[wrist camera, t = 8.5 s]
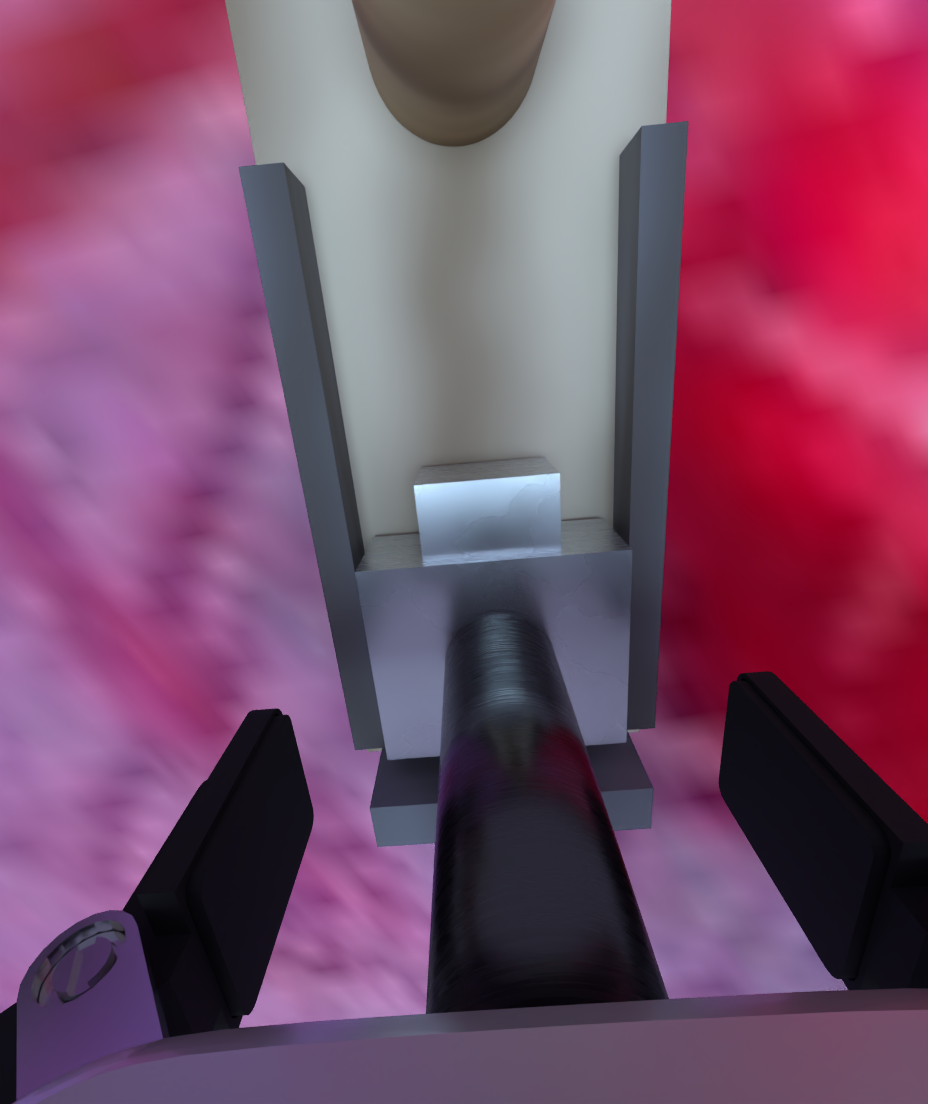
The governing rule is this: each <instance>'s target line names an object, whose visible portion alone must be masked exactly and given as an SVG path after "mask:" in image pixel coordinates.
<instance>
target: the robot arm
mask: <svg viewBox="0 0 928 1104" xmlns="http://www.w3.org/2000/svg"><path fill="white" fill-rule="evenodd" d="M719 788H720V792H721V795H722V797H723V799H724V801H725V803H726V804H727V806H728V808H729V809H730V811H731V813H732V814H733V816H734V818H735V819H736V821H737V823H738V824H739V826H740V827H741V829H742V831H743V832H744V834H745V836H746V837H747V839H748V841H749V842H750V844H751V846H752V847H753V849H754V851H755V852H756V854H757V855H758V857H759V859H760V860H761V862H762V864H763V865H764V867H765V869H766V870H767V872H768V874H769V875H770V877H771V879H772V880H773V882H774V883H775V885H776V887H777V888H778V890H779V892H780V893H781V895H782V897H783V898H784V900H785V902H786V903H787V905H788V907H789V908H790V910H791V912H792V913H793V915H794V916H795V918H796V920H797V921H798V923H799V925H800V926H801V928H802V930H803V931H804V933H805V935H806V936H807V938H808V940H809V941H810V943H811V944H812V946H813V948H814V949H815V951H816V953H817V954H818V956H819V958H820V959H821V961H822V963H823V964H824V966H825V967H826V969H827V970H828V972H829V973H830V974H831V975H832V976H833V977H834V978H836V979H842V980H843V982H844V984H845V985H846V987H847V988H848V990H843V991H814V992H792V993H774V994H755V995H737V996H718V997H700V998H682V999H663V1000H645V1001H629V1002H612V1003H595V1004H578V1005H561V1006H545V1007H529V1008H512V1009H496V1010H480V1011H464V1012H449V1013H434V1014H419V1015H404V1016H389V1017H374V1018H359V1019H344V1020H329V1021H315V1022H304V1023H292V1024H281V1025H269V1026H258V1027H246V1028H239V1025H240V1022H241V1019H242V1016H243V1015H249V1014H250V1013H251V1012H252V1010H253V1008H254V1006H255V1003H256V1001H257V997H258V994H259V991H260V988H261V985H262V982H263V979H264V976H265V973H266V969H267V966H268V963H269V960H270V957H271V954H272V951H273V948H274V945H275V942H276V938H277V935H278V932H279V929H280V926H281V923H282V920H283V917H284V914H285V911H286V907H287V904H288V901H289V898H290V895H291V892H292V889H293V886H294V883H295V880H296V876H297V873H298V870H299V867H300V864H301V861H302V858H303V855H304V852H305V849H306V845H307V842H308V839H309V836H310V833H311V830H312V826H313V817H314V815H313V807H312V803H311V799H310V795H309V791H308V787H307V783H306V779H305V775H304V771H303V767H302V763H301V758H300V754H299V750H298V746H297V742H296V738H295V734H294V730H293V726H292V722H291V719H290V717H289V715H283V714H282V712H281V711H280V709H264V710H252V711H250V712H249V713H248V714H247V716H246V718H245V719H244V721H243V722H242V724H241V726H240V727H239V729H238V731H237V732H236V734H235V735H234V737H233V739H232V740H231V742H230V744H229V745H228V747H227V748H226V750H225V752H224V753H223V755H222V757H221V758H220V760H219V761H218V763H217V765H216V766H215V768H214V770H213V771H212V773H211V775H210V776H209V778H208V779H207V780H206V781H204V782H203V783H202V785H201V786H200V787H199V788H198V790H197V791H196V793H195V795H194V796H193V798H192V799H191V801H190V803H189V804H188V806H187V807H186V809H185V811H184V812H183V814H182V815H181V817H180V819H179V820H178V822H177V823H176V825H175V827H174V828H173V830H172V832H171V833H170V835H169V836H168V838H167V840H166V841H165V843H164V844H163V846H162V848H161V849H160V851H159V852H158V854H157V856H156V857H155V859H154V860H153V862H152V864H151V865H150V867H149V868H148V870H147V872H146V873H145V875H144V877H143V878H142V880H141V881H140V883H139V885H138V886H137V888H136V889H135V891H134V893H133V894H132V896H131V897H130V899H129V901H128V902H127V904H126V905H125V907H124V909H123V910H122V911H119V910H109V911H105V912H101V913H97V914H94V915H92V916H90V917H88V918H86V919H83V920H81V921H79V922H77V923H76V924H74V925H73V926H71V927H70V928H68V929H67V930H66V931H64V932H63V933H61V934H60V935H59V936H58V937H56V938H55V939H54V940H53V941H52V942H51V943H50V944H49V945H48V946H47V947H46V948H45V949H44V950H43V951H42V952H41V953H40V954H39V956H38V957H37V958H36V959H35V961H34V962H33V963H32V965H31V966H30V967H29V969H28V971H27V973H26V975H25V977H24V978H23V980H22V982H21V984H20V988H19V993H18V998H17V1002H16V1003H15V1004H13V1005H12V1006H10V1007H9V1008H8V1009H6V1010H5V1011H3V1012H2V1013H0V1104H928V824H927V823H926V822H925V821H924V820H923V819H922V818H921V817H920V816H919V815H918V814H917V813H916V812H915V811H914V810H913V809H912V808H911V807H910V806H909V805H908V804H907V803H906V802H905V801H904V800H903V799H901V798H900V797H899V796H898V795H897V794H896V793H895V792H894V791H893V790H892V789H891V788H890V787H889V786H888V785H887V784H886V783H885V782H884V781H883V780H882V779H881V778H880V777H879V776H878V775H877V774H876V773H875V772H874V771H873V770H872V769H871V768H870V767H869V766H868V765H867V764H866V763H865V762H864V761H863V760H862V759H861V758H860V757H859V756H858V755H857V754H856V753H855V752H854V751H852V750H851V749H850V748H849V747H848V746H847V745H846V744H845V743H844V742H843V741H842V740H841V739H840V738H839V737H838V736H837V735H836V734H835V733H834V732H833V731H832V730H831V729H830V728H829V727H828V726H827V725H826V724H825V723H824V722H823V721H822V720H821V719H820V718H819V717H818V716H817V715H816V714H815V713H814V712H813V711H812V710H811V709H810V708H809V707H808V706H807V705H806V704H805V703H803V702H802V701H801V700H800V699H799V698H798V697H797V696H796V695H795V694H794V693H793V692H792V691H791V690H790V689H789V688H788V687H787V686H786V685H785V684H784V683H783V682H782V681H781V680H780V679H779V678H778V677H777V676H776V675H775V674H773V673H772V672H768V671H767V672H753V673H742V674H740V675H739V676H738V678H737V681H733V682H731V684H730V687H729V695H728V704H727V713H726V721H725V730H724V739H723V747H722V756H721V765H720V774H719Z"/></svg>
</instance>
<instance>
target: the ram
mask: <svg viewBox="0 0 928 1104" xmlns="http://www.w3.org/2000/svg"><path fill="white" fill-rule="evenodd" d="M414 493H415V501H416V509H417V517H418V525H419V533H418V534H406V535H394V536H382V537H373V538H372V540H371V542H370V544H369V546H368V548H367V550H366V552H365V554H364V556H363V558H362V560H361V562H360V564H359V566H358V567H357V569H356V571H355V575H356V581H357V587H358V592H359V598H360V604H361V610H362V615H363V621H364V627H365V633H366V638H367V644H368V650H369V656H370V662H371V667H372V673H373V679H374V685H375V690H376V696H377V702H378V708H379V713H380V719H381V725H382V731H383V736H384V742H385V748H386V754H387V759H388V760H394V759H408V758H422V757H436V756H440V763H439V782H438V800H437V819H436V838H435V856H434V875H433V893H432V912H431V931H430V949H429V968H428V986H427V1005H426V1014H434V1013H449V1012H464V1011H480V1010H496V1009H512V1008H529V1007H545V1006H561V1005H578V1004H595V1003H612V1002H629V1001H645V1000H663V999H669V998H668V995H667V992H666V989H665V986H664V983H663V980H662V977H661V974H660V971H659V968H658V965H657V962H656V958H655V955H654V952H653V949H652V946H651V943H650V940H649V937H648V934H647V931H646V928H645V925H644V922H643V919H642V916H641V913H640V910H639V907H638V904H637V901H636V898H635V895H634V892H633V889H632V886H631V883H630V879H629V876H628V873H627V870H626V867H625V864H624V861H623V858H622V855H621V852H620V849H619V846H618V843H617V840H616V837H615V834H614V831H613V828H612V825H611V822H610V819H609V816H608V813H607V810H606V807H605V803H604V800H603V797H602V794H601V791H600V788H599V785H598V782H597V779H596V776H595V773H594V770H593V767H592V764H591V761H590V758H589V755H588V752H587V749H586V746H587V745H601V744H614V743H626V736H627V705H628V674H629V643H630V611H631V580H632V549H631V548H630V546H629V545H628V544H627V543H626V542H625V541H624V540H623V539H622V538H621V537H620V536H619V535H618V534H617V533H616V532H615V530H614V529H613V528H612V527H611V526H610V525H609V524H608V523H607V522H606V521H605V520H604V519H603V518H597V519H585V520H573V521H561V503H560V473H559V472H558V471H557V470H556V468H555V467H554V466H553V465H552V464H551V463H550V462H549V461H548V460H547V459H546V458H545V457H536V458H524V459H513V460H501V461H490V462H478V463H466V464H455V465H443V466H432V467H421V468H420V471H419V473H418V476H417V479H416V481H415V484H414Z"/></svg>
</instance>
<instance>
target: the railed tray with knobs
mask: <svg viewBox="0 0 928 1104" xmlns="http://www.w3.org/2000/svg"><path fill="white" fill-rule="evenodd" d="M225 3H226V8H227V13H228V19H229V24H230V29H231V35H232V40H233V45H234V50H235V56H236V61H237V66H238V72H239V77H240V82H241V87H242V93H243V98H244V103H245V108H246V114H247V119H248V124H249V130H250V135H251V140H252V145H253V151H254V156H255V161H256V165H252V166H243V167H239V172H240V177H241V182H242V187H243V192H244V197H245V202H246V207H247V212H248V217H249V222H250V227H251V232H252V237H253V242H254V247H255V252H256V257H257V262H258V267H259V272H260V277H261V282H262V287H263V292H264V297H265V302H266V307H267V312H268V317H269V322H270V327H271V332H272V337H273V342H274V347H275V352H276V357H277V362H278V367H279V372H280V377H281V382H282V387H283V392H284V397H285V402H286V407H287V412H288V417H289V422H290V427H291V432H292V437H293V442H294V447H295V452H296V457H297V462H298V467H299V472H300V477H301V482H302V487H303V492H304V497H305V502H306V507H307V512H308V517H309V522H310V527H311V532H312V537H313V542H314V547H315V552H316V557H317V562H318V567H319V572H320V577H321V582H322V587H323V592H324V597H325V602H326V607H327V612H328V617H329V622H330V627H331V632H332V637H333V642H334V647H335V652H336V657H337V662H338V667H339V672H340V677H341V682H342V687H343V692H344V697H345V702H346V707H347V712H348V717H349V722H350V727H351V732H352V737H353V742H354V747H355V750H362V749H367V752H370V751H382V752H381V756H380V761H379V766H378V771H377V776H376V781H375V786H374V790H373V795H372V800H371V805H370V811H371V816H372V822H373V827H374V832H375V837H376V842H377V847H383V846H398V845H412V844H427V843H435V838H436V819H437V800H438V782H439V763H440V756H436V757H422V758H408V759H394V760H388V759H387V754H386V748H385V742H384V736H383V731H382V725H381V719H380V713H379V708H378V702H377V696H376V690H375V685H374V679H373V673H372V667H371V662H370V656H369V650H368V644H367V638H366V633H365V627H364V621H363V615H362V610H361V604H360V598H359V592H358V587H357V581H356V575H355V571H356V569H357V567H358V566H359V564H360V562H361V560H362V558H363V556H364V554H365V552H366V550H367V548H368V546H369V544H370V542H371V540H372V538H373V537H382V536H394V535H406V534H418V533H419V525H418V517H417V509H416V501H415V493H414V484H415V481H416V479H417V476H418V473H419V471H420V468H421V467H432V466H443V465H455V464H466V463H478V462H490V461H501V460H513V459H524V458H536V457H545V458H546V459H547V460H548V461H549V462H550V463H551V464H552V465H553V466H554V467H555V468H556V470H557V471H558V472H559V473H560V503H561V521H573V520H585V519H597V518H603V519H604V520H605V521H606V522H607V523H608V524H609V525H610V526H611V527H612V528H613V529H614V530H615V532H616V533H617V534H618V535H619V536H620V537H621V538H622V539H623V540H624V541H625V542H626V543H627V544H628V545H629V546H630V548H631V549H632V580H631V611H630V643H629V674H628V705H627V736H626V743H614V744H601V745H587V746H586V749H587V752H588V755H589V758H590V761H591V764H592V767H593V770H594V773H595V776H596V779H597V782H598V785H599V788H600V791H601V794H602V797H603V800H604V803H605V807H606V810H607V813H608V816H609V819H610V822H611V825H612V828H613V831H617V830H631V829H646V828H651V821H652V803H653V786H652V784H651V782H650V780H649V778H648V775H647V773H646V771H645V769H644V767H643V764H642V762H641V760H640V758H639V756H638V753H637V751H636V749H635V747H634V745H633V742H632V740H631V738H630V736H629V734H628V733H630V732H640V729H648V728H655V714H656V696H657V678H658V660H659V642H660V624H661V606H662V588H663V570H664V552H665V534H666V516H667V498H668V480H669V462H670V444H671V426H672V408H673V390H674V372H675V354H676V336H677V318H678V300H679V282H680V264H681V246H682V228H683V210H684V192H685V174H686V156H687V138H688V121H685V122H675V123H666V110H667V87H668V64H669V41H670V18H671V0H556V2H555V5H554V8H553V12H552V15H551V19H550V22H549V25H548V29H547V32H546V36H545V39H544V42H543V46H542V49H541V53H540V56H539V59H538V63H537V66H536V70H535V73H534V76H533V80H532V83H531V85H530V88H529V90H528V92H527V95H526V97H525V98H524V100H523V102H522V104H521V106H520V107H519V109H518V110H517V111H516V113H515V114H514V115H513V117H512V118H511V119H510V120H509V121H508V122H507V123H506V124H505V125H504V126H503V127H502V128H501V129H499V130H498V131H497V132H496V133H494V134H493V135H491V136H489V137H488V138H486V139H484V140H481V141H479V142H476V143H473V144H469V145H465V146H443V145H439V144H435V143H431V142H429V141H426V140H424V139H422V138H420V137H418V136H417V135H415V134H413V133H412V132H410V131H409V130H408V129H407V128H405V127H404V126H403V125H402V124H401V123H400V122H399V121H398V120H397V119H396V118H395V117H394V116H393V115H392V113H391V112H390V111H389V109H388V108H387V107H386V105H385V103H384V102H383V100H382V98H381V96H380V95H379V93H378V90H377V88H376V86H375V84H374V81H373V78H372V75H371V72H370V69H369V65H368V61H367V58H366V54H365V50H364V46H363V42H362V38H361V35H360V31H359V27H358V23H357V19H356V15H355V12H354V8H353V4H352V0H225Z"/></svg>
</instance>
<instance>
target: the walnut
mask: <svg viewBox="0 0 928 1104" xmlns="http://www.w3.org/2000/svg"><path fill="white" fill-rule="evenodd" d="M555 2H556V0H352V4H353V8H354V12H355V15H356V19H357V23H358V27H359V31H360V35H361V38H362V42H363V46H364V50H365V54H366V58H367V61H368V65H369V69H370V72H371V75H372V78H373V81H374V84H375V86H376V88H377V90H378V93H379V95H380V96H381V98H382V100H383V102H384V103H385V105H386V107H387V108H388V109H389V111H390V112H391V113H392V115H393V116H394V117H395V118H396V119H397V120H398V121H399V122H400V123H401V124H402V125H403V126H404V127H405V128H407V129H408V130H409V131H410V132H412V133H413V134H415V135H417V136H418V137H420V138H422V139H424V140H426V141H429V142H431V143H435V144H439V145H443V146H465V145H469V144H473V143H476V142H479V141H481V140H484V139H486V138H488V137H489V136H491V135H493V134H494V133H496V132H497V131H498V130H499V129H501V128H502V127H503V126H504V125H505V124H506V123H507V122H508V121H509V120H510V119H511V118H512V117H513V115H514V114H515V113H516V111H517V110H518V109H519V107H520V106H521V104H522V102H523V100H524V98H525V97H526V95H527V92H528V90H529V88H530V85H531V83H532V80H533V76H534V73H535V70H536V66H537V63H538V59H539V56H540V53H541V49H542V46H543V42H544V39H545V36H546V32H547V29H548V25H549V22H550V19H551V15H552V12H553V8H554V5H555Z"/></svg>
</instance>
